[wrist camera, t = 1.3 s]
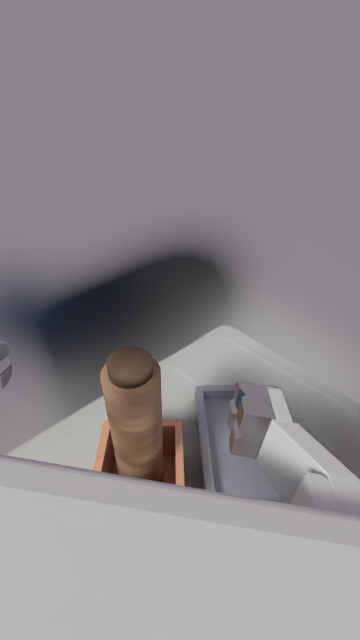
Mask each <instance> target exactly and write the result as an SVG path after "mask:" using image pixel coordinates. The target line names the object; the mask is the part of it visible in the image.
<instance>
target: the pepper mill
mask: <svg viewBox="0 0 360 640" xmlns="http://www.w3.org/2000/svg"><path fill="white" fill-rule="evenodd" d="M100 378H101V384H102V389H103V395H104V400H105V405H106V410H107V416H108V421H109V426H110V431H111V437H112V442H113V447H114V452H115V458H116V463H117V468H118V473H119V475H123V476H129V477H134V478H140V479H146V480H152V481H158V482H163V483H164V469H163V437H162V404H161V372H160V366H159V364H158V363H157V362H156V360H155V359H153V358H152V356H151V354H150V353H149V352H148V351H147V350H145V349H143V348H139V347H124V348H121V349H118V350H116V351H114V352H113V353H112V354H111V355H110V356H109V357H108V359H107V361H106V364H105V366H104V367H103V369H102V371H101V375H100Z"/></svg>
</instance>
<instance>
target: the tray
mask: <svg viewBox="0 0 360 640" xmlns="http://www.w3.org/2000/svg"><path fill="white" fill-rule="evenodd" d="M258 386H268V387H274V385H258ZM234 388H235V386H196V392H195V401H196V413H197V424H198V435H199V446H200V458H201V469H202V480H203V489H204V490H210V491H216V492H222V493H228V494H234V495H240V496H246V497H251V498H257V499H263V500H269V501H275V502H281V503H284V502H283V500H282V499H281V497H280V496H279V494H278V493H277V492H276V490H275V489H274V487H273V486H272V484H271V483H270V481H269V480H268V478H267V477H266V475H265V474H264V472H263V471H262V469H261V468H260V467H259V465H258V464H257V462H256V461H255V460H256V459H251V458H246V457H241V456H236V455H231V454H230V445H229V436H230V432H231V431H230V429H229V428H228V422H227V420H228V409H229V405H230V401H231V400H232V399H234Z"/></svg>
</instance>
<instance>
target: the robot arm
mask: <svg viewBox="0 0 360 640" xmlns="http://www.w3.org/2000/svg"><path fill="white" fill-rule="evenodd" d="M9 353H10V351H9V345H8V344H7V343H5V342H1V341H0V390H1V389H3V388H4V387H5V386H6V385H7V383H8V381H9V379H10V377H11V373H12V364H11V362H10V361H9V360H8V359H7V356H8V355H9ZM227 422H228V428H229V429H230V431H231V432H230V436H229V445H230V454H231V455H236V456H241V457H246V458H251V459H256V460H255V461H256V462H257V464H258V465H259V467H260V468H261V469H262V471H263V472H264V474H265V475H266V477H267V478H268V480H269V481H270V483H271V484H272V486H273V487H274V489H275V490H276V492H277V493H278V494H279V496H280V497H281V499H282V500H283V502H284V503H281V502H275V501H269V500H263V499H257V498H251V497H246V496H240V495H234V494H228V493H222V492H216V491H210V490H204V489H198V488H192V487H187V486H181V485H175V484H169V483H163V482H158V481H152V480H146V479H140V478H134V477H129V476H123V475H117V474H111V473H105V472H100V471H94V470H88V469H82V468H76V467H70V466H64V465H59V464H53V463H47V462H41V461H35V460H29V459H23V458H18V457H12V456H6V455H0V640H360V479H359V478H357V477H356V476H355V475H354V474H353V473H352V472H351V471H350V470H349V469H347V468H346V467H345V466H344V465H343V464H342V463H341V462H340V461H339V460H338V459H336V458H335V457H334V456H333V455H332V454H331V453H330V452H329V451H328V450H327V449H325V448H324V447H323V446H322V445H321V444H320V443H319V442H318V441H317V440H315V439H314V438H313V437H312V436H311V435H310V434H309V433H308V432H307V431H306V430H304V429H303V428H302V427H301V426H300V425H299V424H298V423H293V420H292V417H291V415H290V412H289V409H288V406H287V404H286V401H285V398H284V395H283V393H282V390H281V389H280V388H275V387H268V386H258V385H252V384H246V383H240V382H237V383H236V385H235V388H234V399H232V400H231V401H230V405H229V409H228V420H227Z"/></svg>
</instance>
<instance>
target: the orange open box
mask: <svg viewBox="0 0 360 640" xmlns="http://www.w3.org/2000/svg"><path fill="white" fill-rule="evenodd" d="M162 437H163V469H164V483H169V484H175V485H181V486H184V461H183V435H182V420H162ZM93 470H94V471H100V472H105V473H111V474H117V475H119V473H118V468H117V463H116V458H115V452H114V447H113V442H112V437H111V431H110V426H109V421H104V424H103V429H102V433H101V438H100V442H99V447H98V451H97V456H96V460H95V465H94V469H93Z"/></svg>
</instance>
